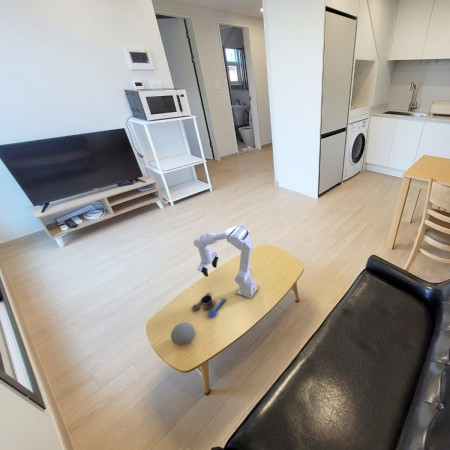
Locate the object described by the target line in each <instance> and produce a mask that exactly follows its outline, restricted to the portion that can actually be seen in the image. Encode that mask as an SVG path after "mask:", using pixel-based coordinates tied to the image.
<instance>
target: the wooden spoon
mask: <svg viewBox="0 0 450 450" xmlns="http://www.w3.org/2000/svg"><path fill="white" fill-rule="evenodd" d="M207 295H210V293H206V295H205V296H207ZM201 306H202V302H201V300H200V301H199V302H198V303H197V304H194V305H193V306H192V311H194V312H197V311H198V310H200V308H201Z"/></svg>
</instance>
